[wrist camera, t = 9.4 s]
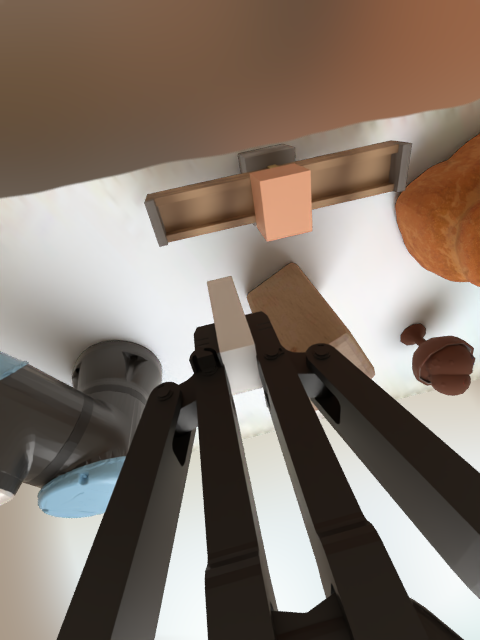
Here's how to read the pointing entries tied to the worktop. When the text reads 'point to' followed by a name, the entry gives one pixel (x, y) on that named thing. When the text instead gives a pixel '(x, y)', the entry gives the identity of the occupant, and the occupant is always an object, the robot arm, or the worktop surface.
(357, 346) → the wooden block
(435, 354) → the ice cream bowl
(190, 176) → the worktop surface
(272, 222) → the block
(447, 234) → the bread
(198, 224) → the beam
